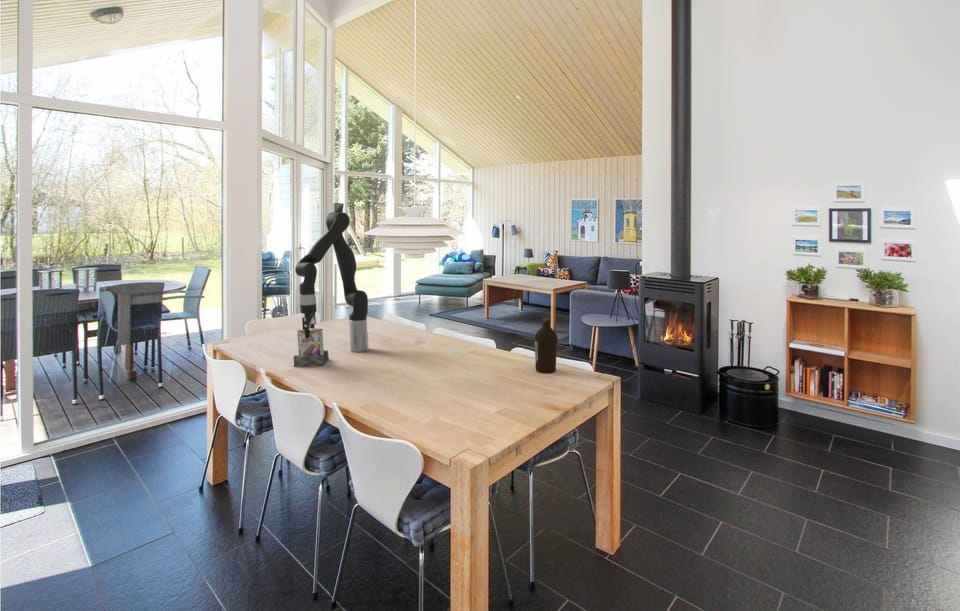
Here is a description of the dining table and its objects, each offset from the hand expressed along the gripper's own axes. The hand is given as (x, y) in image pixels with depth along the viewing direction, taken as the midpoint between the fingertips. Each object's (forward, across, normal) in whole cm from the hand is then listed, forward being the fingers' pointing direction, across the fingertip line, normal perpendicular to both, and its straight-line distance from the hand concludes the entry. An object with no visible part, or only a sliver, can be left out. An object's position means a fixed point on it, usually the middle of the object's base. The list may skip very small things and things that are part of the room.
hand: (310, 335), depth 247 cm
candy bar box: (+13, 0, 0) cm, 13 cm away
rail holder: (+14, 0, 0) cm, 14 cm away
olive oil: (+14, -20, -114) cm, 117 cm away
